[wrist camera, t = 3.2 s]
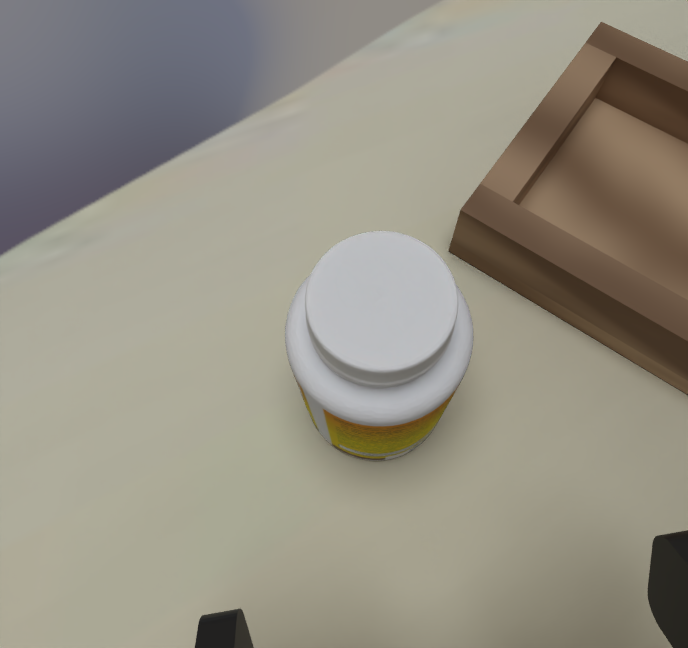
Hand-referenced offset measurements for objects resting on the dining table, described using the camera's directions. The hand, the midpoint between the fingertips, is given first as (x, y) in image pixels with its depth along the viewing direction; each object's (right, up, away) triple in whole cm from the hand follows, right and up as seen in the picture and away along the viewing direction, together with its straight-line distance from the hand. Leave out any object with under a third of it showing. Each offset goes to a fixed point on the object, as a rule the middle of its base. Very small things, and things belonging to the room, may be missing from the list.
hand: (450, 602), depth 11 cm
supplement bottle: (-1, +2, +13) cm, 14 cm away
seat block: (+11, +10, +16) cm, 22 cm away
